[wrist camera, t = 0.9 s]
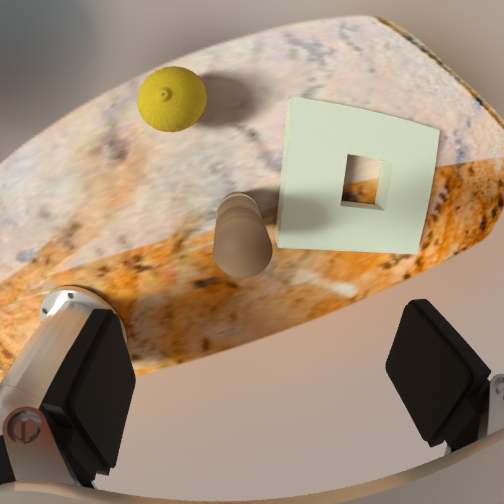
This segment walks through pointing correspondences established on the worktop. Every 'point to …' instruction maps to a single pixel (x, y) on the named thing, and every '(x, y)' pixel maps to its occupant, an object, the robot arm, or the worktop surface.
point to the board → (333, 172)
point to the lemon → (172, 99)
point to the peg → (241, 237)
